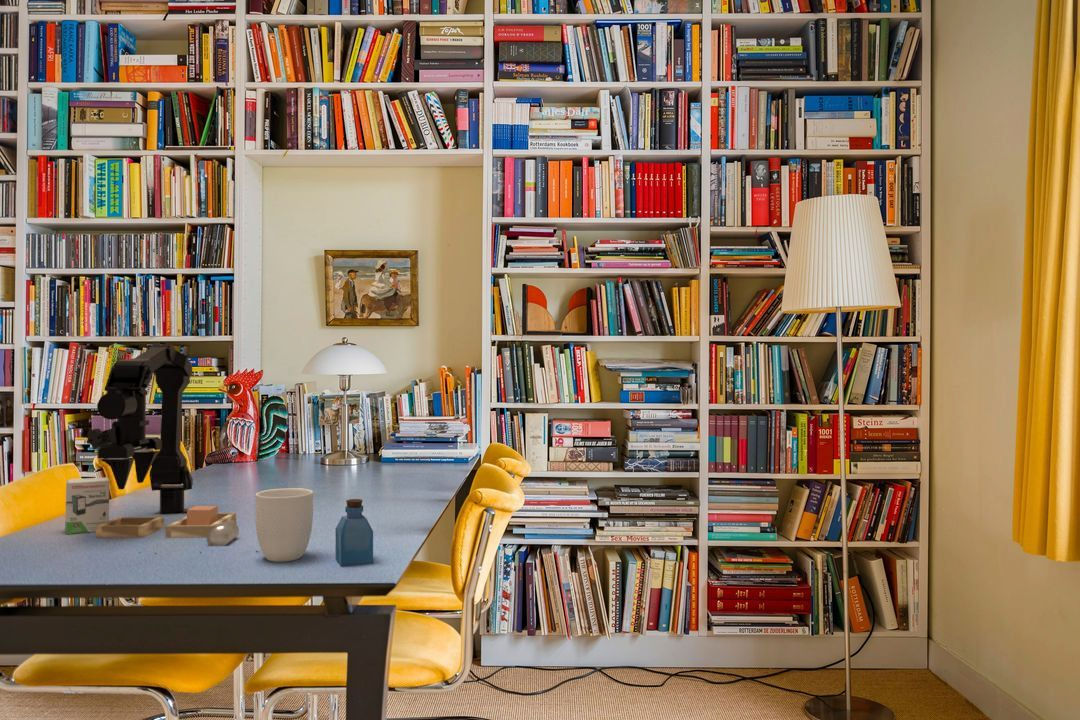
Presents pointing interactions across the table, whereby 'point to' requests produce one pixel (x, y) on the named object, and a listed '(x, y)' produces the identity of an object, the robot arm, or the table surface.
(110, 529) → the oak box
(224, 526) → the grey rounded piece
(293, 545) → the mug
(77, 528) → the ink box
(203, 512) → the cube
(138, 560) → the table surface
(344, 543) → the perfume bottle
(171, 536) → the birch box
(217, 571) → the table surface
